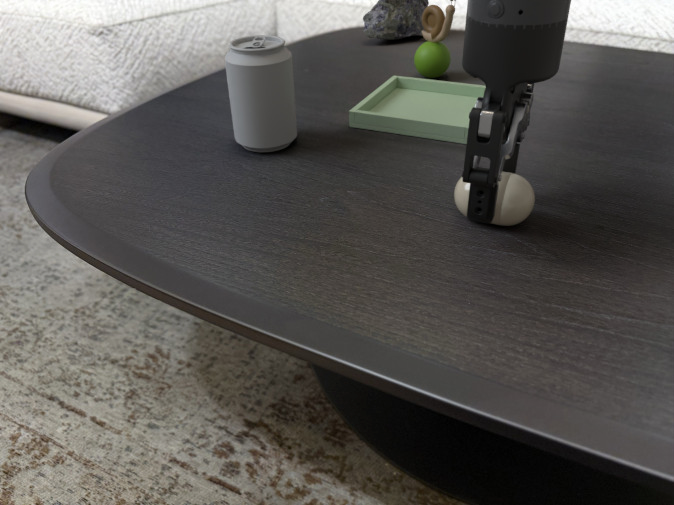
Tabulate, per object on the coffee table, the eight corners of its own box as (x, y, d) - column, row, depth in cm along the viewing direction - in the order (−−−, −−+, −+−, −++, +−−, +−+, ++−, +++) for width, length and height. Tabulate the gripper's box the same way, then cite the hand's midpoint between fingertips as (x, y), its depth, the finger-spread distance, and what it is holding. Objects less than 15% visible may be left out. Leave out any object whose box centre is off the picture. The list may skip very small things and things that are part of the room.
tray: (500, 102, 82) (502, 87, 81) (470, 145, 70) (472, 128, 69) (393, 89, 88) (393, 75, 87) (349, 126, 76) (348, 110, 75)
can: (228, 154, 70) (213, 49, 63) (244, 129, 76) (233, 31, 70) (291, 156, 69) (283, 49, 62) (303, 131, 75) (296, 32, 69)
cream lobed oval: (535, 215, 56) (543, 168, 54) (525, 240, 53) (533, 191, 50) (459, 201, 59) (464, 156, 56) (445, 224, 55) (449, 177, 53)
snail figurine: (435, 86, 88) (440, -1, 82) (406, 76, 93) (409, -7, 86) (461, 79, 91) (468, -6, 84) (431, 69, 95) (436, -12, 89)
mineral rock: (363, 46, 108) (363, -14, 103) (360, 32, 117) (359, -24, 112) (435, 43, 108) (438, -17, 103) (426, 29, 117) (429, -27, 112)
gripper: (553, 35, 39) (517, 246, 48) (580, -5, 50) (547, 174, 59) (441, 26, 42) (427, 227, 51) (490, -10, 52) (471, 161, 61)
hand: (491, 198), depth 55 cm, fingers open, 8 cm apart
